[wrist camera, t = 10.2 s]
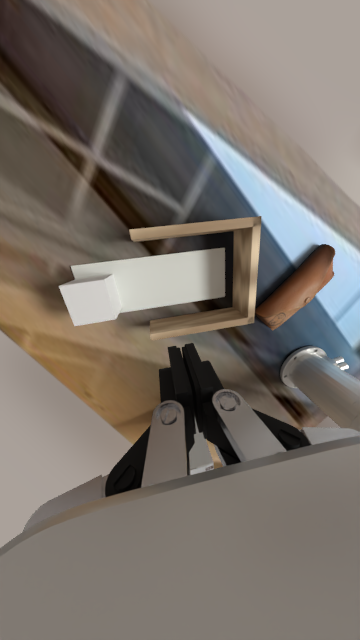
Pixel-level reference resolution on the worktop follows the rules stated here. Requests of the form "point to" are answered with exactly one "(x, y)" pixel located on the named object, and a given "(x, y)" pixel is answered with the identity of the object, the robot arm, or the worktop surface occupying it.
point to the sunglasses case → (298, 288)
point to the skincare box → (200, 454)
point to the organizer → (242, 276)
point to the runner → (163, 278)
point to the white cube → (91, 299)
